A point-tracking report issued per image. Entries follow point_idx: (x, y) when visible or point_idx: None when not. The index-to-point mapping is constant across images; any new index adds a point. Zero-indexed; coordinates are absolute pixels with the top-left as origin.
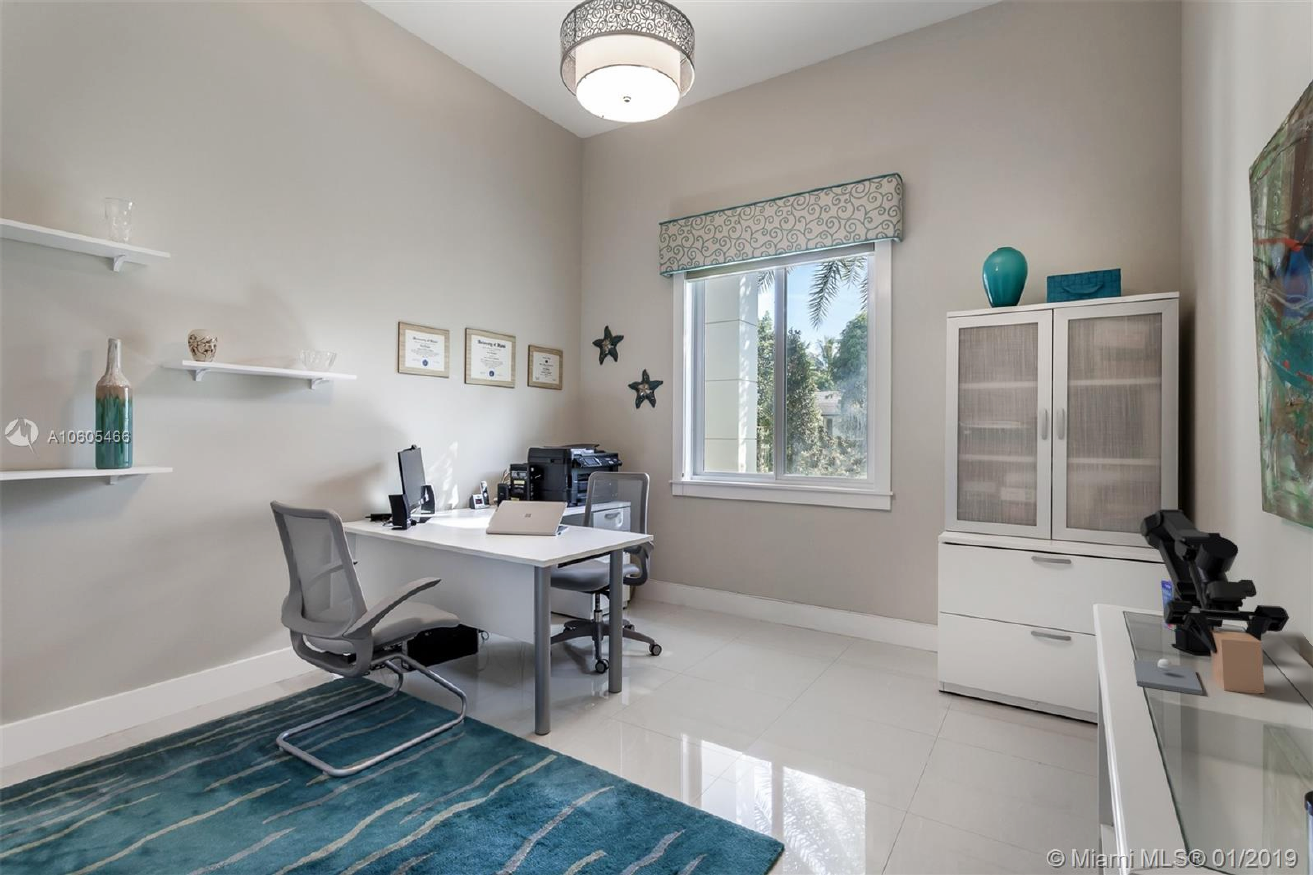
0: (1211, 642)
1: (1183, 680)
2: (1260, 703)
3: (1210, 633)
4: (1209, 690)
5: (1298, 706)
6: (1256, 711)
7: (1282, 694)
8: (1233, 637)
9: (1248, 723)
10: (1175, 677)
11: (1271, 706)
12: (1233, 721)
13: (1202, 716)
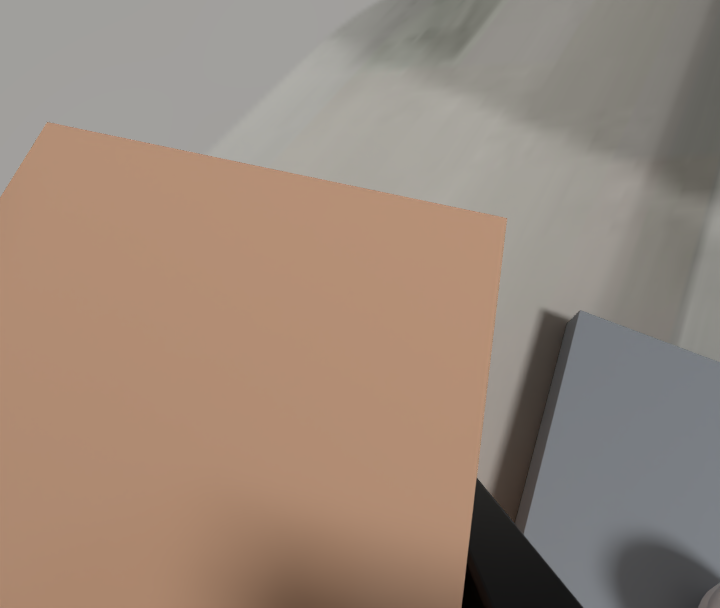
0: (491, 512)
1: (635, 478)
2: None
3: (504, 598)
4: (492, 411)
5: None
6: (406, 158)
7: None
8: (266, 320)
9: (508, 58)
10: (673, 540)
11: None
12: (556, 69)
13: (656, 100)
